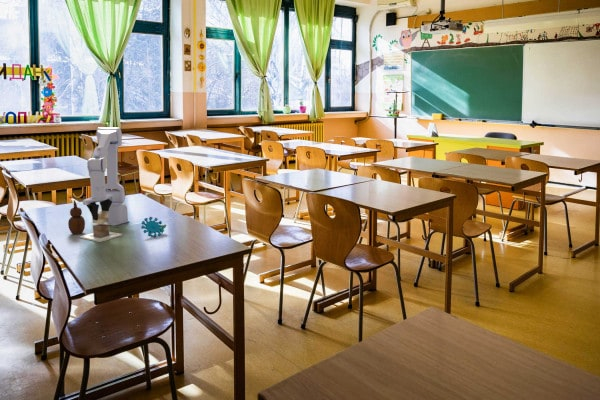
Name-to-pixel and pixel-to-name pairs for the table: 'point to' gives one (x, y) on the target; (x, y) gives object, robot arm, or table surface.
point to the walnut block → (101, 230)
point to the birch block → (101, 217)
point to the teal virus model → (153, 227)
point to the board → (100, 239)
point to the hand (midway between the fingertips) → (100, 218)
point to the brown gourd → (76, 220)
